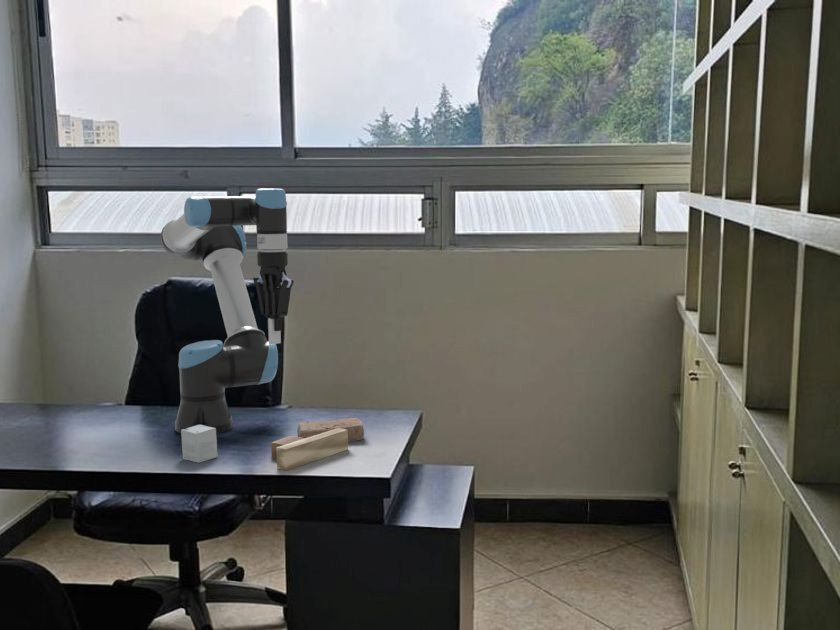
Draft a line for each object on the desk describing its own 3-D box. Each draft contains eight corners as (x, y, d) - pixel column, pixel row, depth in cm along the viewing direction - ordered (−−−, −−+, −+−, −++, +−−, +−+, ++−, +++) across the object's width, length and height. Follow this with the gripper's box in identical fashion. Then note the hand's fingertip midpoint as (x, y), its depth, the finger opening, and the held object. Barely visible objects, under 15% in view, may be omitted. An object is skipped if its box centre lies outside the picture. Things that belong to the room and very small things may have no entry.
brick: (300, 446, 224) (299, 428, 223) (296, 437, 232) (296, 420, 231) (365, 442, 228) (364, 424, 227) (359, 433, 236) (359, 416, 235)
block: (271, 458, 214) (271, 442, 213) (291, 451, 220) (290, 435, 219) (293, 463, 210) (292, 446, 210) (312, 455, 216) (312, 439, 215)
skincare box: (218, 457, 214) (216, 427, 213) (197, 463, 210) (196, 433, 209) (202, 453, 218) (200, 423, 217) (181, 459, 213) (180, 429, 212)
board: (276, 468, 205) (276, 447, 205) (339, 447, 222) (338, 427, 221) (286, 470, 204) (285, 449, 203) (348, 449, 220) (347, 429, 219)
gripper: (243, 250, 223) (246, 342, 227) (278, 252, 215) (280, 348, 219) (266, 248, 229) (269, 338, 233) (301, 250, 221) (303, 344, 224)
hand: (274, 343), depth 226 cm, fingers closed
